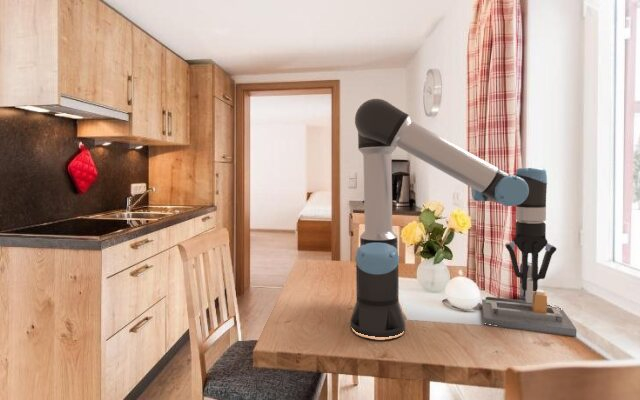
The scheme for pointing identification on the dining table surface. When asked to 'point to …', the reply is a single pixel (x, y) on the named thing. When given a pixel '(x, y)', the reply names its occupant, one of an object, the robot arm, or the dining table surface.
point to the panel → (527, 317)
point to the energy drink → (522, 292)
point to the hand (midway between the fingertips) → (528, 301)
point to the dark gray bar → (511, 301)
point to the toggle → (539, 301)
